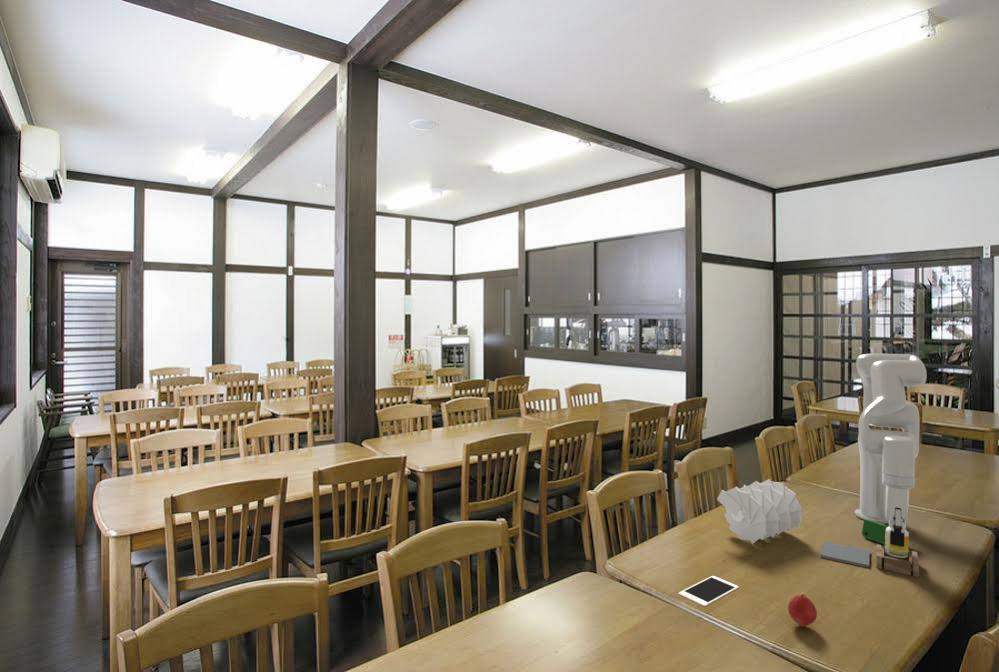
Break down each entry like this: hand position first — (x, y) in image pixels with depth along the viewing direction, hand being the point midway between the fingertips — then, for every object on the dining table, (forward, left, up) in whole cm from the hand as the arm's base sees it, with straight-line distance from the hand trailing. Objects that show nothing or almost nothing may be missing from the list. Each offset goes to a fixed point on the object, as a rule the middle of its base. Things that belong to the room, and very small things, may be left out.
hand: (896, 540), depth 155 cm
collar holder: (+1, 0, -7) cm, 7 cm away
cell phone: (+46, -41, -8) cm, 62 cm away
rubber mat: (+1, -12, -7) cm, 14 cm away
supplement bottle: (0, 0, -4) cm, 4 cm away
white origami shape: (-1, -36, -7) cm, 37 cm away
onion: (+51, -19, -7) cm, 54 cm away
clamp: (-18, -2, -7) cm, 20 cm away
